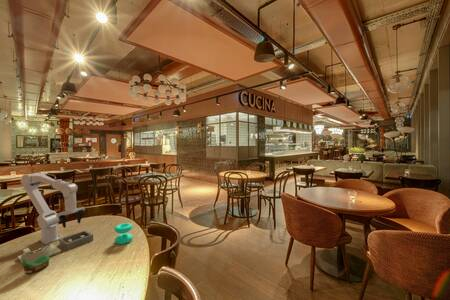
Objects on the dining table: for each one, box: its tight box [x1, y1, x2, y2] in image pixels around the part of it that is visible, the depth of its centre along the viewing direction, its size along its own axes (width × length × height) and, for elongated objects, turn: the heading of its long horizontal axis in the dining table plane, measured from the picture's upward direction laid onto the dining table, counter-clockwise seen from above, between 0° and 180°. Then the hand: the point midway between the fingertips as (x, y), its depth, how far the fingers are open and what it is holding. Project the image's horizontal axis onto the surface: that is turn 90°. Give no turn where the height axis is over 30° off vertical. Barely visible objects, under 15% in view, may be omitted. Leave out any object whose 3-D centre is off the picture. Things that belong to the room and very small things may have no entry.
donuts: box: [114, 222, 134, 245], centre depth 128 cm, size 10×10×10 cm
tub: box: [58, 230, 94, 251], centre depth 127 cm, size 11×14×4 cm
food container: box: [21, 243, 52, 275], centre depth 101 cm, size 12×6×10 cm, turn 168°
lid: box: [17, 244, 62, 264], centre depth 112 cm, size 12×15×6 cm
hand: (71, 224), depth 128 cm, fingers open, 7 cm apart
